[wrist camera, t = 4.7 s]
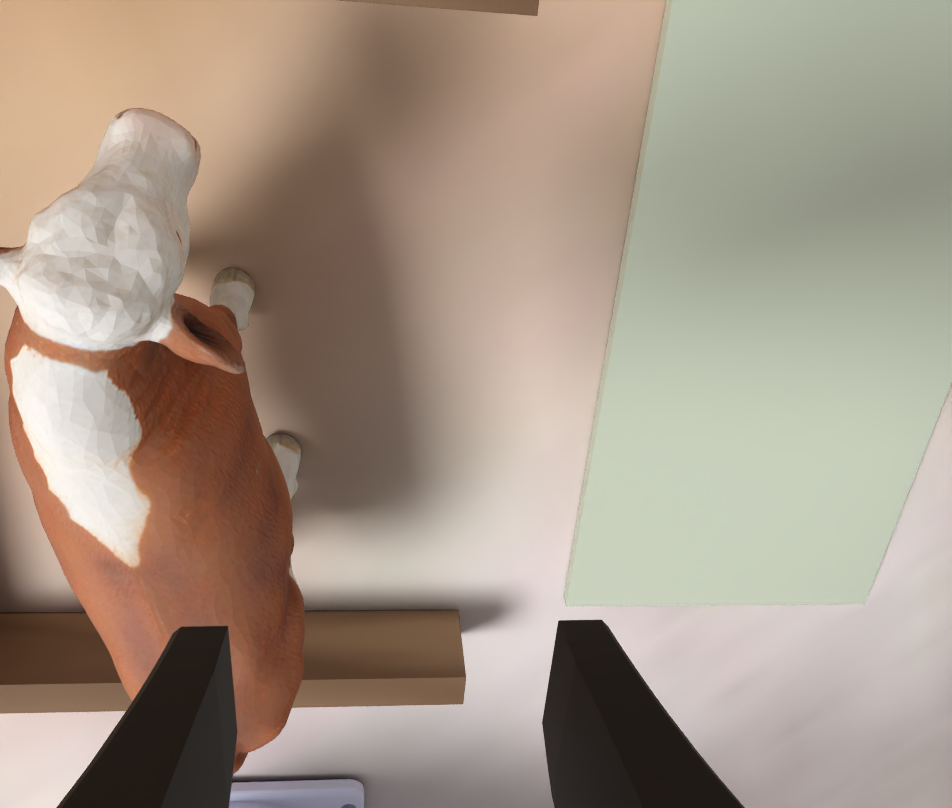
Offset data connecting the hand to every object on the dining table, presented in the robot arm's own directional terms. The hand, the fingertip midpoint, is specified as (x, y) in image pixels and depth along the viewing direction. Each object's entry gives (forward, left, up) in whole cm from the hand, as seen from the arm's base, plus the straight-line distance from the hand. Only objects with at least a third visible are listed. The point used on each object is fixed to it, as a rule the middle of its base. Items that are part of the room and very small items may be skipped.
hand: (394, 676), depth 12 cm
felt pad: (+1, -10, -10) cm, 14 cm away
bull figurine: (0, +4, -10) cm, 11 cm away
